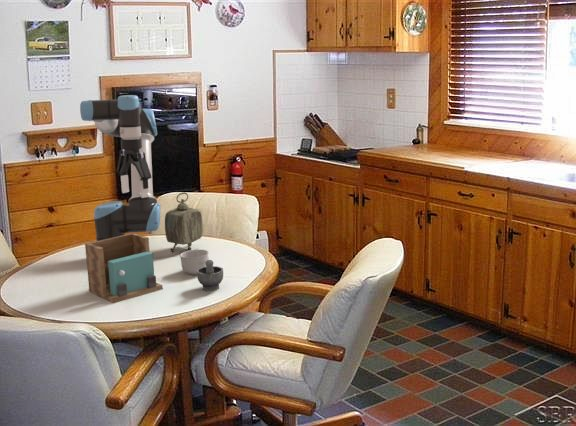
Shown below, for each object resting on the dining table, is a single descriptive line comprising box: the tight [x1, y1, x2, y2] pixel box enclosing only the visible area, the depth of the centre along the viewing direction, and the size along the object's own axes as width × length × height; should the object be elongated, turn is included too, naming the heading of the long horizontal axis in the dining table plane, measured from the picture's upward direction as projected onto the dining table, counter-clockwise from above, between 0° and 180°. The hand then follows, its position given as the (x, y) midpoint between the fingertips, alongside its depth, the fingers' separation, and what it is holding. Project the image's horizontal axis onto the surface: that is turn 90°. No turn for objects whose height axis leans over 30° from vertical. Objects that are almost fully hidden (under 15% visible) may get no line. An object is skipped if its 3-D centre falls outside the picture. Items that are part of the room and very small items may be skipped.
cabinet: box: [84, 232, 164, 304], centre depth 270 cm, size 17×20×18 cm
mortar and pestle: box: [196, 259, 224, 292], centre depth 270 cm, size 11×9×12 cm
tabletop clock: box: [164, 192, 204, 253], centre depth 319 cm, size 14×9×25 cm, turn 144°
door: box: [108, 251, 155, 296], centre depth 266 cm, size 5×16×12 cm, turn 133°
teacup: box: [179, 248, 210, 276], centre depth 291 cm, size 14×11×8 cm
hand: (135, 194), depth 281 cm, fingers open, 13 cm apart
